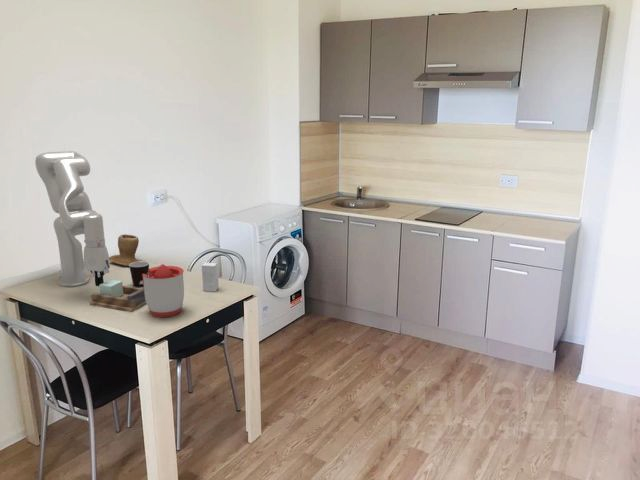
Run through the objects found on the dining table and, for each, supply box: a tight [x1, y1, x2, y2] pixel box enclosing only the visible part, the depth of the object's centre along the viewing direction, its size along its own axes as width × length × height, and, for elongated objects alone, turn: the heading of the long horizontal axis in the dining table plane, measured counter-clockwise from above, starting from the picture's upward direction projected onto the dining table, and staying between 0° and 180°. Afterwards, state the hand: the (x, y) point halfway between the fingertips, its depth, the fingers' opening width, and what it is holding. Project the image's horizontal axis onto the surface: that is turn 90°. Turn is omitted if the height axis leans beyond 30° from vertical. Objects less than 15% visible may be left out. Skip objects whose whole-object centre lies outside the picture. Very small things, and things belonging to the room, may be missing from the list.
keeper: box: [98, 279, 124, 297], centre depth 226 cm, size 6×7×6 cm
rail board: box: [89, 285, 147, 313], centre depth 224 cm, size 21×16×6 cm
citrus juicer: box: [140, 264, 185, 318], centre depth 212 cm, size 16×17×20 cm
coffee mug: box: [129, 260, 150, 288], centre depth 245 cm, size 12×9×10 cm
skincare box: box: [201, 262, 220, 292], centre depth 238 cm, size 6×4×12 cm
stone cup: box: [109, 233, 140, 267], centre depth 274 cm, size 15×12×15 cm
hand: (99, 285), depth 227 cm, fingers closed
